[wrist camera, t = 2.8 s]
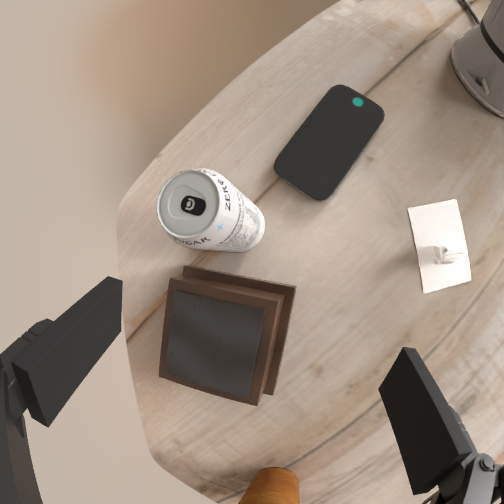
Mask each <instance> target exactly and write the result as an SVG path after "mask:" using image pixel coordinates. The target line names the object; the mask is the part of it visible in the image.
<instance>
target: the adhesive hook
mask: <svg viewBox="0 0 504 504" xmlns="http://www.w3.org/2000/svg"><path fill="white" fill-rule="evenodd" d="M432 248H433V250H434V253H435V255H436V256H434V257H433V264H434V265H442V266H443V265H452V264H454V263H456V262H457V261H458V260H459V259H460V258H461V257H460V256H459V257H457V256H458V255H463V254H464V251H463V250H462V251H456V250H455V249H453V250H450V248H449V246H448V245H433V246H432Z"/></svg>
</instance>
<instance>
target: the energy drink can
mask: <svg viewBox="0 0 504 504" xmlns="http://www.w3.org/2000/svg"><path fill="white" fill-rule="evenodd" d="M157 215H158V219H159V221H160V223H161V225H162V227H163V228H164V229H165V230H166V232H167V234H168V235H169V236H170V238H171V239H172V240H174V241H175V242H176V243H178V244H180V245H182V246H184V247H188V248H194V249H204V250H213V251H223V252H233V253H242V252H246V251H249V250H251V249H252V248H254V247H255V246H256V245H257V244H258V243H259V242H260V240H261V239H262V236H263V234H264V230H265V222H264V217H263V215H262V213H261V211H260V210H259V208H258V207H257V206H256V205H255V204H253V203H252V202H251V201H250V200H249V199H248V198H247V197H246V196H245V195H244V194H242V193H241V192H240V191H239V190H238V189H237V188H236V187H235V186H233V185H232V184H231V183H230V182H229V181H228V180H227V179H226V178H224V177H223V176H222V175H220V174H219V173H217V172H215V171H213V170H210V169H204V168H200V169H193V170H185V171H181V172H179V173H177V174H175V175H173V176H172V177H171V178H169V180H168V181H167V182H166V183H165V184H164V186H163V187H162V189H161V191H160V193H159V195H158V199H157Z"/></svg>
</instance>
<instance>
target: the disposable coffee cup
mask: <svg viewBox="0 0 504 504" xmlns="http://www.w3.org/2000/svg"><path fill="white" fill-rule="evenodd" d="M238 504H299V486H298V479H297V477H296V475H295V474H294V473H292V472H291V471H289V470H286V469H283V468H277V467H271V468H266V469H263V470H261V471H259V472H258V473H257V474H256V476H255V478H254V479H253V481H252V483H251V484H250V486H249V488H248V489H247V491H246V492H245V494H244V496H243V497H242V499H241V500H240V502H239V503H238Z"/></svg>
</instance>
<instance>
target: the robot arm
mask: <svg viewBox="0 0 504 504" xmlns="http://www.w3.org/2000/svg"><path fill="white" fill-rule="evenodd" d="M462 2H463V3H464V5H465V6H466V7H467V9H468V10H469V12H470V13H471V15H472V16H473V18H474V19H475V21H476V23H477V26H475V27H474V28H472V29H471V30H469V31H468V32H467V33H465V34H463V35H461V36H460V37H459V38H458V39H457V40H456V42H455V43H454V45H453V47H452V50H451V60H452V64H453V67H454V69H455V72H456V74H457V76H458V77H459V79H460V81H461V82H462V84H463V85H464V86H465V88H466V89H467V90H468V91H469V93H470V94H471V95H472V96H473V97H474V98H475V99H476V100H477V101H478V102H479V103H480V104H481V105H483V106H484V107H485V108H486V109H488V110H489V111H491V112H492V113H494V114H496V115H497V116H500V117H502V118H504V0H492V1H491V3H490V5H489V7H488V9H487V11H486V13H485V15H484V17H483V19H482V20H481V22H479V20H478V18H477V17H476V15H475V14H474V12H473V11H472V9H471V8H470V7H469V5H468V4H467V2H466V1H465V0H462ZM122 285H123V281H122V280H118V279H115V278H112V277H109V276H108V277H106V278H105V279H104V280H103V281H102V282H100V283H99V284H98V285H97V286H95V287H94V288H93V289H92V290H90V291H89V292H88V293H87V294H86V295H84V296H83V297H82V298H81V299H80V300H78V301H77V302H76V303H75V304H74V305H72V306H71V307H70V308H69V309H68V310H67V311H65V313H63V314H62V315H61V316H60V317H58V318H57V319H56V320H55V321H52V320H50V319H45V320H42V321H40V322H38V323H36V324H35V325H33V326H32V327H31V328H30V329H29V330H28V332H27V331H26V332H25V333H24V334H23V335H22V336H21V337H20V338H18V339H17V340H16V341H15V342H14V343H12V344H11V345H10V346H9V347H8V348H7V349H6V350H5V351H3V352H2V353H1V354H0V504H43V502H42V499H41V496H40V492H39V489H38V486H37V481H36V478H35V473H34V469H33V465H32V460H31V456H30V451H29V445H28V439H27V433H26V427H25V419H24V416H23V413H24V411H25V410H26V409H27V408H28V410H29V412H30V414H31V417H32V418H33V419H35V420H36V421H38V422H40V423H41V424H43V425H44V426H46V427H49V426H50V425H51V423H52V422H53V420H54V419H55V418H56V416H57V415H58V413H59V412H60V411H61V409H62V408H63V406H64V405H65V403H66V402H67V401H68V400H69V398H70V397H71V395H72V394H73V393H74V391H75V390H76V389H77V387H78V386H79V385H80V383H81V382H82V381H83V379H84V378H85V377H86V376H87V374H88V373H89V372H90V370H91V369H92V367H93V366H94V365H95V364H96V362H97V361H98V360H99V359H100V357H101V356H102V354H103V353H104V352H105V351H106V350H107V348H108V347H109V346H110V345H111V343H112V342H113V341H114V340H115V338H116V337H117V336H118V334H119V333H120V332H121V310H122ZM379 392H380V395H381V397H382V400H383V403H384V406H385V408H386V411H387V414H388V417H389V420H390V423H391V426H392V428H393V431H394V434H395V437H396V440H397V443H398V446H399V449H400V452H401V456H402V459H403V462H404V465H405V468H406V472H407V475H408V478H409V482H410V485H411V489H412V492H413V495H417V494H422V493H427V492H429V491H430V490H431V489H433V488H434V487H435V486H436V485H437V484H438V487H439V490H438V491H437V492H435V493H434V494H433V495H432V496H430V497H429V498H428V499H426V500H425V501H424V502H423V504H426V503H428V502H429V501H430V500H431V503H430V504H493V503H494V502H496V501H497V500H498V499H499V498H501V503H500V504H504V465H497V464H495V461H494V460H493V459H492V458H491V457H490V456H489V455H487V454H484V453H483V454H478V452H477V450H476V448H475V446H474V444H473V442H472V440H471V438H470V436H469V434H468V432H467V430H466V431H465V429H466V428H465V427H464V425H463V424H462V421H461V419H460V417H459V416H458V414H457V413H456V412H455V411H454V410H453V408H452V407H451V406H449V405H448V403H447V401H446V400H445V398H444V396H443V394H442V393H441V391H440V389H439V387H438V386H437V384H436V382H435V380H434V379H433V377H432V375H431V374H430V372H429V370H428V369H427V367H426V365H425V364H424V362H423V360H422V359H421V357H420V356H419V354H418V352H417V351H416V349H414V348H407V347H403V348H402V350H401V352H400V353H399V355H398V357H397V359H396V361H395V362H394V364H393V366H392V367H391V369H390V371H389V373H388V374H387V376H386V378H385V379H384V381H383V382H382V384H381V386H380V387H379Z"/></svg>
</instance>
